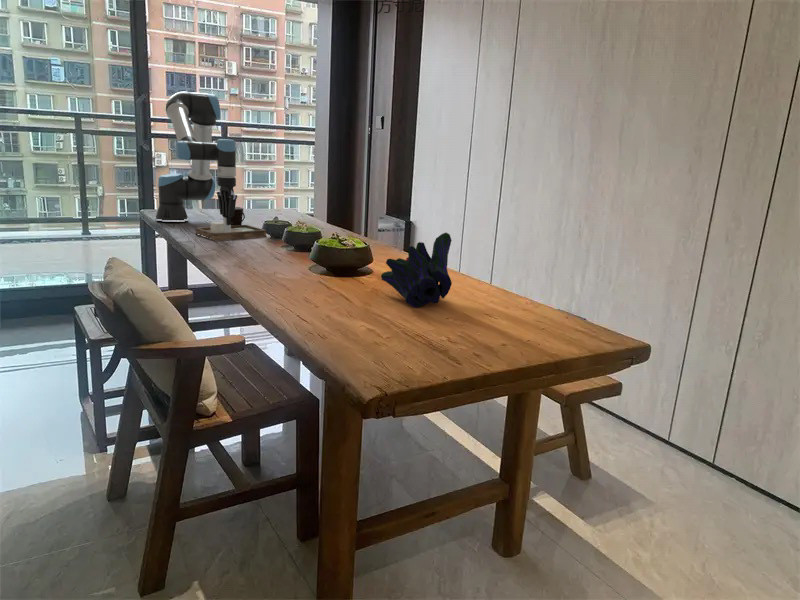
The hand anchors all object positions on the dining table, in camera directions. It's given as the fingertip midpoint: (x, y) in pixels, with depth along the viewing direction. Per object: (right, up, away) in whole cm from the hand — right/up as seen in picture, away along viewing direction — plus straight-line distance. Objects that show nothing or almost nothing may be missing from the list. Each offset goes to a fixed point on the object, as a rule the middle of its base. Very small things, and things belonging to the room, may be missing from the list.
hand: (227, 232), depth 269 cm
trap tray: (-2, 0, +15) cm, 15 cm away
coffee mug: (-5, +5, +33) cm, 34 cm away
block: (-5, 0, +5) cm, 8 cm away
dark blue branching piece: (+80, -29, -71) cm, 111 cm away
